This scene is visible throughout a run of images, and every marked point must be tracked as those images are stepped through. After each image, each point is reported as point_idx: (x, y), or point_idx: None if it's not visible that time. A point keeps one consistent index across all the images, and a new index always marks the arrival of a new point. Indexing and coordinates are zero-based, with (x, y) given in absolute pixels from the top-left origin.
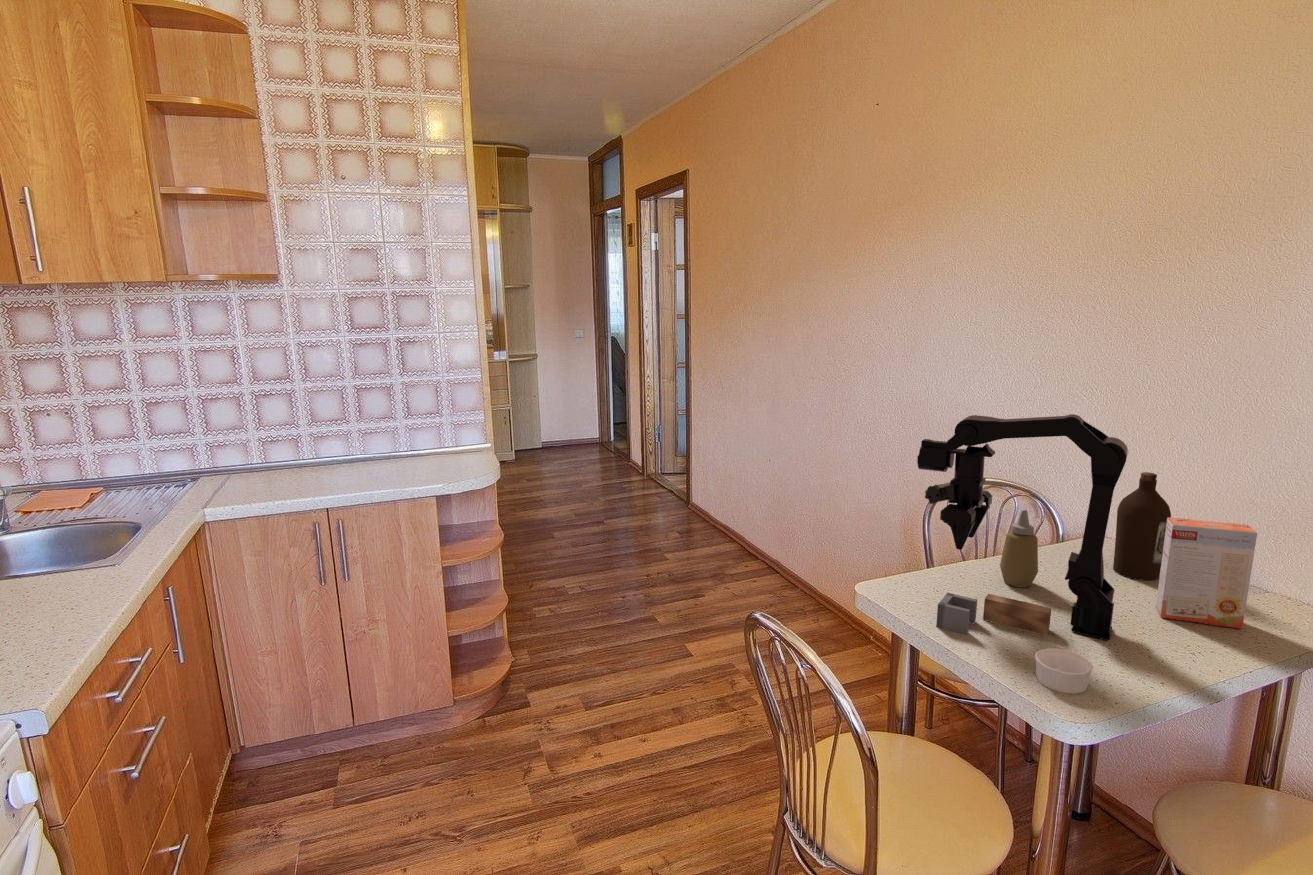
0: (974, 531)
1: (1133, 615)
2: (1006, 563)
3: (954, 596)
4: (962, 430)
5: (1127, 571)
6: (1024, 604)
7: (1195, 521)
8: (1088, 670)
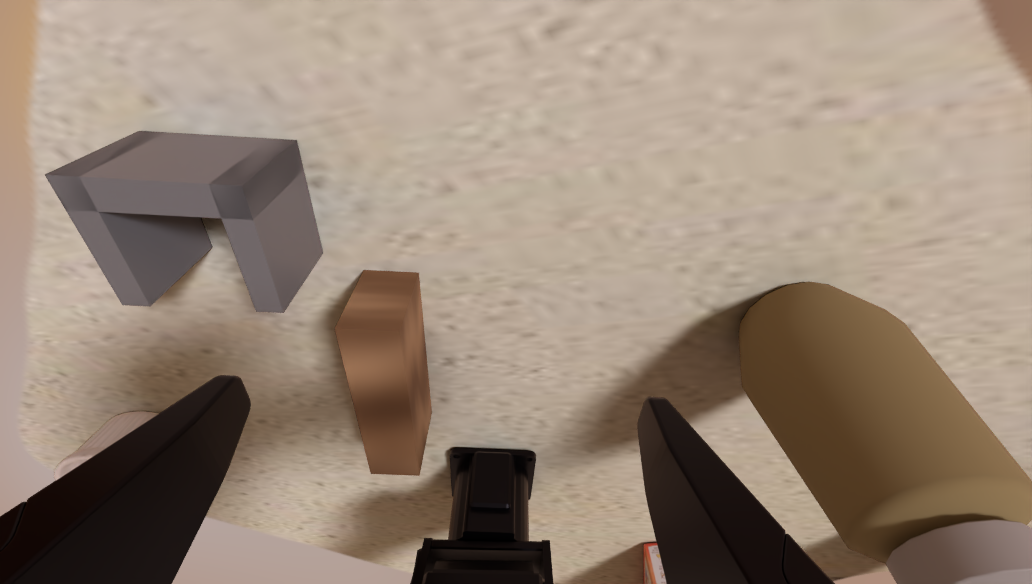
0: (649, 492)
1: (635, 515)
2: (798, 358)
3: (224, 226)
4: None
5: None
6: (388, 426)
7: None
8: None
